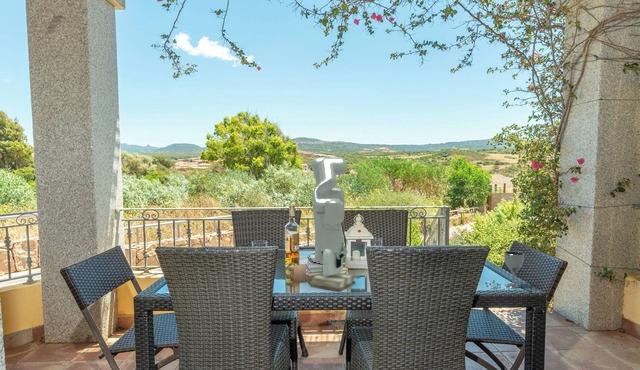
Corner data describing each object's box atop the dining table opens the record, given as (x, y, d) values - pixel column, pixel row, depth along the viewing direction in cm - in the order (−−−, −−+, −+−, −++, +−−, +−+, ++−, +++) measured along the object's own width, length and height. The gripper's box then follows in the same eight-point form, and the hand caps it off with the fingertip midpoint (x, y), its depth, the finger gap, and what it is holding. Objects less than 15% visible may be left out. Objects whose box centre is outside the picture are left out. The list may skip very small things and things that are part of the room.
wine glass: (524, 284, 193) (525, 252, 192) (521, 289, 186) (522, 255, 185) (505, 282, 197) (506, 250, 196) (502, 286, 191) (502, 253, 190)
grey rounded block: (327, 276, 189) (327, 249, 188) (321, 274, 192) (321, 247, 191) (344, 272, 196) (344, 246, 195) (337, 270, 199) (337, 244, 198)
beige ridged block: (327, 278, 204) (327, 270, 204) (355, 283, 196) (355, 274, 196) (310, 286, 192) (310, 277, 191) (339, 291, 184) (339, 282, 184)
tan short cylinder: (298, 278, 205) (298, 264, 205) (308, 280, 202) (308, 265, 202) (291, 281, 200) (291, 266, 200) (301, 283, 197) (301, 268, 197)
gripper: (312, 226, 194) (312, 265, 195) (345, 230, 185) (345, 270, 186) (321, 224, 200) (321, 262, 201) (353, 227, 191) (353, 267, 192)
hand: (332, 266), depth 194 cm, fingers closed on grey rounded block, 5 cm apart
